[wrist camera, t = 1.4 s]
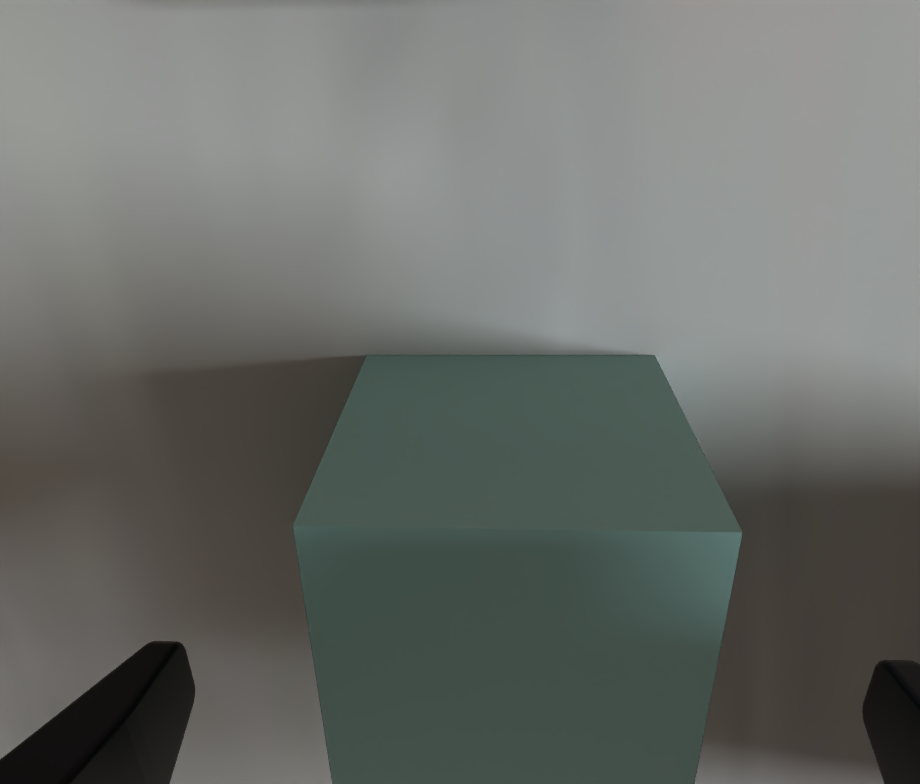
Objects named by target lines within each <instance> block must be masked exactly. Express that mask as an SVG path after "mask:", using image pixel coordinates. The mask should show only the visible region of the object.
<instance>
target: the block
mask: <svg viewBox="0 0 920 784" xmlns="http://www.w3.org/2000/svg"><path fill="white" fill-rule="evenodd" d="M293 531H294V537H295V544H296V550H297V557H298V563H299V570H300V576H301V583H302V589H303V596H304V602H305V609H306V615H307V622H308V628H309V635H310V641H311V648H312V654H313V661H314V667H315V674H316V680H317V687H318V693H319V700H320V706H321V713H322V719H323V726H324V732H325V739H326V745H327V752H328V758H329V765H330V771H331V778H332V784H694V783H695V778H696V773H697V767H698V762H699V757H700V752H701V747H702V741H703V736H704V731H705V726H706V721H707V715H708V710H709V705H710V700H711V695H712V689H713V684H714V679H715V674H716V669H717V663H718V658H719V653H720V648H721V643H722V637H723V632H724V627H725V622H726V616H727V611H728V606H729V601H730V596H731V590H732V585H733V580H734V575H735V570H736V564H737V559H738V554H739V549H740V544H741V538H742V533H743V532H742V530H741V528H740V526H739V524H738V522H737V520H736V518H735V516H734V514H733V512H732V510H731V508H730V506H729V504H728V502H727V500H726V498H725V496H724V494H723V492H722V490H721V488H720V486H719V484H718V482H717V480H716V478H715V476H714V474H713V472H712V470H711V468H710V466H709V464H708V462H707V460H706V458H705V456H704V454H703V452H702V450H701V448H700V446H699V444H698V442H697V439H696V437H695V435H694V433H693V431H692V429H691V427H690V425H689V423H688V421H687V419H686V417H685V415H684V413H683V411H682V409H681V407H680V405H679V403H678V401H677V399H676V397H675V395H674V393H673V391H672V389H671V387H670V385H669V383H668V381H667V379H666V377H665V375H664V373H663V371H662V369H661V367H660V365H659V363H658V361H657V359H656V357H655V355H366V358H365V360H364V362H363V365H362V367H361V369H360V372H359V374H358V376H357V379H356V381H355V383H354V385H353V388H352V390H351V392H350V395H349V397H348V399H347V402H346V404H345V406H344V409H343V411H342V413H341V415H340V418H339V420H338V422H337V425H336V427H335V429H334V432H333V434H332V436H331V439H330V441H329V443H328V445H327V448H326V450H325V452H324V455H323V457H322V459H321V462H320V464H319V466H318V469H317V471H316V473H315V475H314V478H313V480H312V482H311V485H310V487H309V489H308V492H307V494H306V496H305V499H304V501H303V503H302V505H301V508H300V510H299V512H298V515H297V517H296V519H295V522H294V524H293Z"/></svg>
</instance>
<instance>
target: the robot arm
mask: <svg viewBox="0 0 920 784" xmlns="http://www.w3.org/2000/svg"><path fill="white" fill-rule="evenodd" d="M194 697H195V684H194V680H193V676H192V672H191V668H190V665H189V661H188V657H187V653H186V650H185V647H184V646H183V644H182V643H180V642H174V641H153V642H150V643H148V644H146V645H145V646H144V647H142V648H141V649H140V650H139V651H137V652H136V653H135V654H133V655H132V656H131V657H130V658H128V659H127V660H126V661H125V662H123V663H122V664H121V665H120V666H118V667H117V668H116V669H114V670H113V671H112V672H111V673H109V674H108V675H107V676H106V677H104V678H103V679H102V680H101V681H99V682H98V683H97V684H95V685H94V686H93V687H92V688H90V689H89V690H88V691H87V692H85V693H84V694H83V695H82V696H80V697H79V698H78V699H76V700H75V701H74V702H73V703H71V704H70V705H69V706H68V707H66V708H65V709H64V710H63V711H61V712H60V713H59V714H57V715H56V716H55V717H54V718H52V719H51V720H50V721H49V722H47V723H46V724H45V725H44V726H42V727H41V728H40V729H38V730H37V731H36V732H35V733H33V734H32V735H31V736H30V737H28V738H27V739H26V740H24V741H23V742H22V743H21V744H19V745H18V746H17V747H16V748H14V749H13V750H12V751H11V752H9V753H8V754H7V755H5V756H4V757H3V758H2V759H0V784H170V780H171V777H172V774H173V770H174V767H175V764H176V760H177V757H178V753H179V750H180V747H181V743H182V740H183V737H184V733H185V730H186V727H187V723H188V720H189V717H190V713H191V710H192V706H193V703H194ZM862 712H863V720H864V724H865V728H866V731H867V734H868V736H869V739H870V742H871V745H872V748H873V751H874V754H875V757H876V760H877V763H878V766H879V769H880V772H881V775H882V778H883V781H884V784H920V664H918V663H916V662H914V661H909V660H882V661H880V662H879V663H878V664H876V666H875V669H874V672H873V675H872V678H871V681H870V684H869V687H868V690H867V693H866V696H865V699H864V702H863V710H862Z"/></svg>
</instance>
